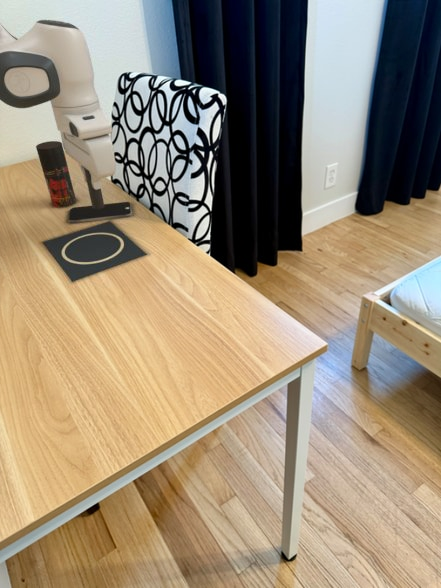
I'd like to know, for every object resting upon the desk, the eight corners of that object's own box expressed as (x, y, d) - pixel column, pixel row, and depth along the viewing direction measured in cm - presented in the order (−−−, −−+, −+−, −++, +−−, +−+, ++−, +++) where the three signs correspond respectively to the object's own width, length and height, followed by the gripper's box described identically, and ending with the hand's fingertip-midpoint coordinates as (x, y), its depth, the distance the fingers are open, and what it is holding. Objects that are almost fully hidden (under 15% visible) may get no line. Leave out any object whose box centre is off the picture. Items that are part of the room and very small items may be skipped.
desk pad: (72, 282, 82) (72, 280, 82) (42, 243, 95) (42, 241, 94) (147, 255, 89) (147, 253, 89) (110, 222, 102) (109, 220, 102)
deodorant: (47, 204, 111) (30, 146, 102) (66, 196, 115) (51, 139, 106) (62, 210, 108) (46, 150, 99) (81, 201, 112) (67, 143, 103)
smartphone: (131, 214, 103) (67, 221, 101) (132, 217, 104) (68, 224, 101) (130, 201, 109) (70, 207, 107) (131, 203, 110) (70, 210, 107)
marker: (95, 210, 94) (82, 150, 86) (90, 206, 95) (77, 147, 88) (106, 207, 95) (94, 147, 87) (101, 203, 97) (89, 144, 89)
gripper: (46, 110, 89) (63, 174, 98) (82, 132, 76) (98, 205, 84) (75, 105, 92) (89, 168, 100) (115, 125, 78) (127, 196, 87)
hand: (93, 185), depth 92 cm, fingers closed on marker, 2 cm apart
